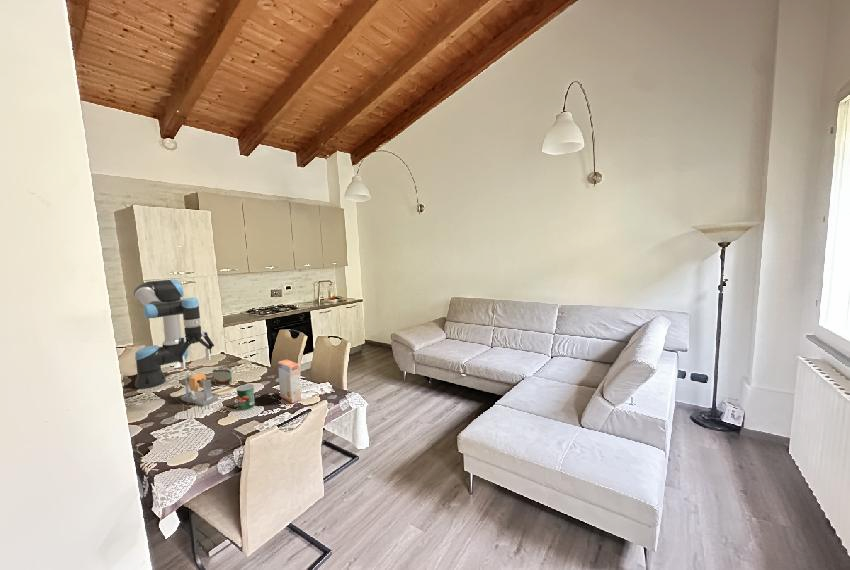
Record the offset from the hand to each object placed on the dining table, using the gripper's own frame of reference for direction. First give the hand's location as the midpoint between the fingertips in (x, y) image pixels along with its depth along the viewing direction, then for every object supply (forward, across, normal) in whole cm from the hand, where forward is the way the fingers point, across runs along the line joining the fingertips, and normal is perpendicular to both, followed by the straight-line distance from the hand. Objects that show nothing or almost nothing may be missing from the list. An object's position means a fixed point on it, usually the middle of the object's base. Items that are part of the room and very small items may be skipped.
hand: (196, 363), depth 190 cm
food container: (+21, +22, +9) cm, 32 cm away
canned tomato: (+22, +5, -32) cm, 39 cm away
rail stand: (+21, 0, 0) cm, 21 cm away
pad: (+21, +13, -2) cm, 25 cm away
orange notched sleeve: (+15, 0, 0) cm, 15 cm away
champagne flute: (+21, +28, +70) cm, 79 cm away
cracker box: (+22, +22, -46) cm, 55 cm away
